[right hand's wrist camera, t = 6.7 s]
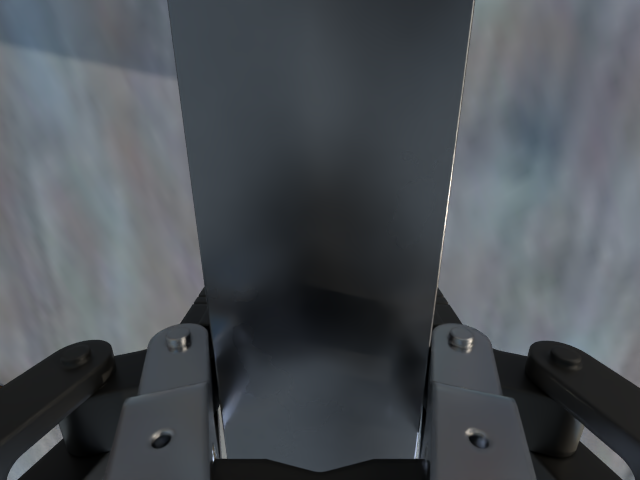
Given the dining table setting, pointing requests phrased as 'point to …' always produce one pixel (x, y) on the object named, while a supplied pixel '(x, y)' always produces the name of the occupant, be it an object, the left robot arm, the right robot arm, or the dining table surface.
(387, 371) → the bar
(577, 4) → the dining table surface
